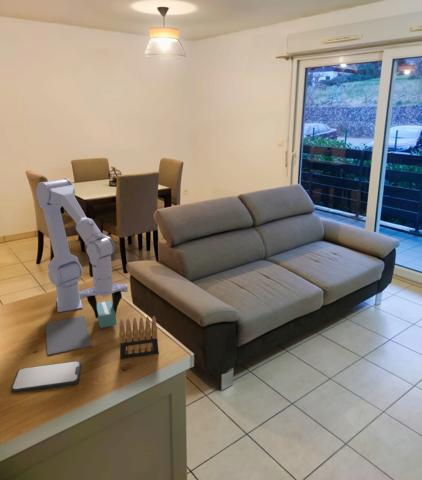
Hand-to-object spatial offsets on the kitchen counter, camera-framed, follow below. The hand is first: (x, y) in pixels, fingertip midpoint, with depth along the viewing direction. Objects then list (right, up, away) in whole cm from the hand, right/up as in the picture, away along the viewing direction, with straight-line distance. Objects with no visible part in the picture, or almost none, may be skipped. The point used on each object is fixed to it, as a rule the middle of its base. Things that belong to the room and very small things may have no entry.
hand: (105, 314), depth 124 cm
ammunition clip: (+13, -9, -14) cm, 21 cm away
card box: (0, -2, +1) cm, 2 cm away
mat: (-10, -5, -5) cm, 13 cm away
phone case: (-8, -12, -24) cm, 28 cm away
